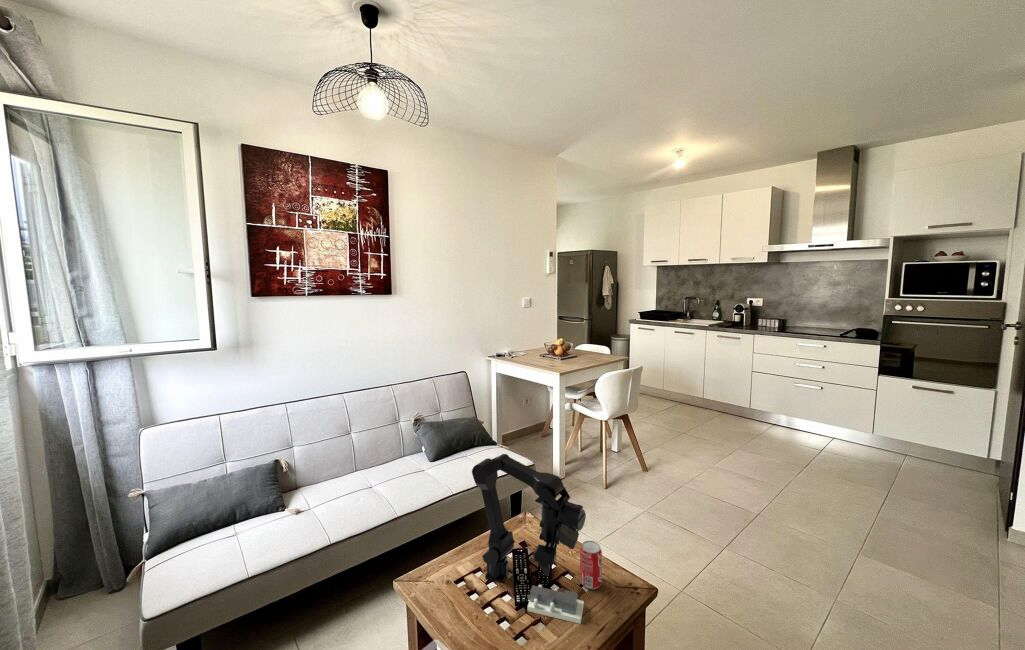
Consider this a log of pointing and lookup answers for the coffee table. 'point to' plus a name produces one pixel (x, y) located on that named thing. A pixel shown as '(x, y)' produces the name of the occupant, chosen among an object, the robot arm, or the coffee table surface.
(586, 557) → the soda can
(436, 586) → the coffee table surface
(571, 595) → the grey t-shaped plate
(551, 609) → the rack
